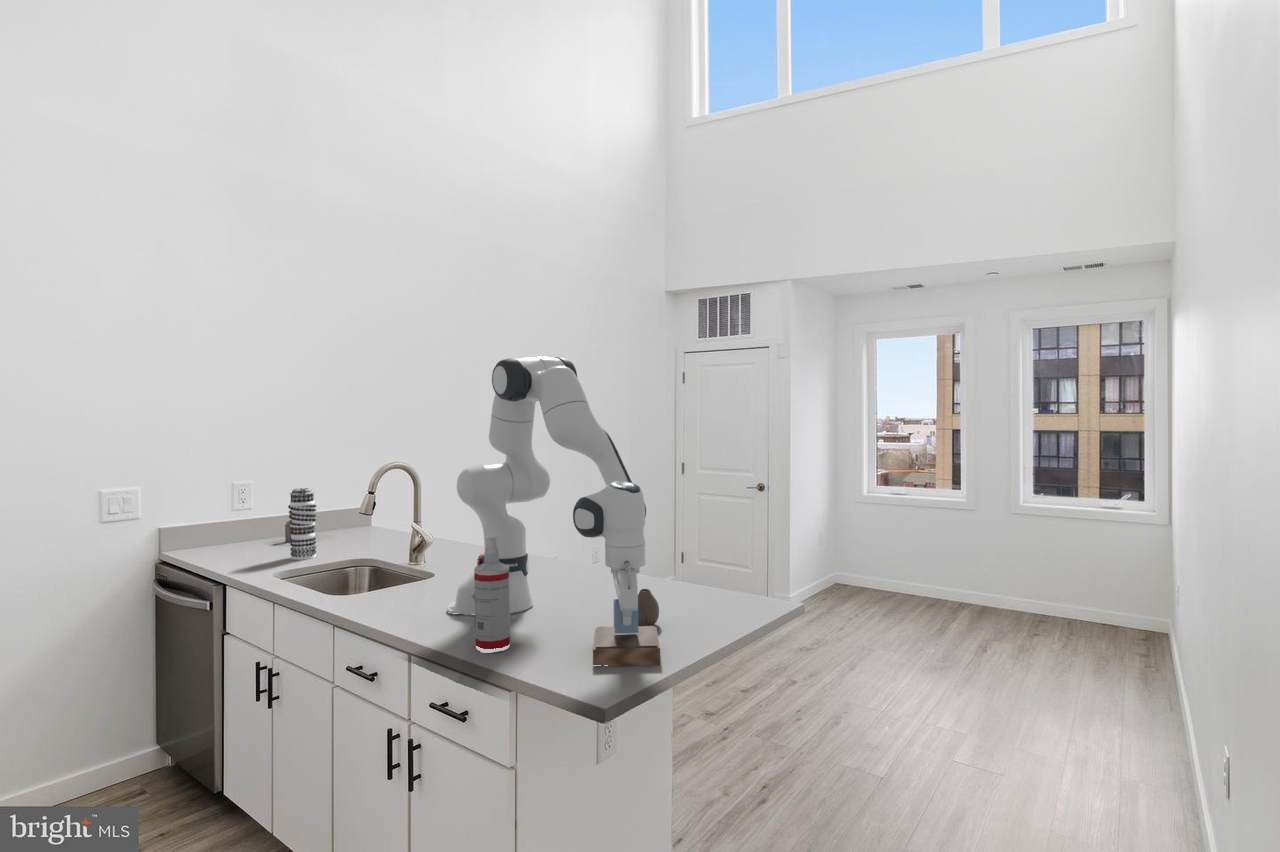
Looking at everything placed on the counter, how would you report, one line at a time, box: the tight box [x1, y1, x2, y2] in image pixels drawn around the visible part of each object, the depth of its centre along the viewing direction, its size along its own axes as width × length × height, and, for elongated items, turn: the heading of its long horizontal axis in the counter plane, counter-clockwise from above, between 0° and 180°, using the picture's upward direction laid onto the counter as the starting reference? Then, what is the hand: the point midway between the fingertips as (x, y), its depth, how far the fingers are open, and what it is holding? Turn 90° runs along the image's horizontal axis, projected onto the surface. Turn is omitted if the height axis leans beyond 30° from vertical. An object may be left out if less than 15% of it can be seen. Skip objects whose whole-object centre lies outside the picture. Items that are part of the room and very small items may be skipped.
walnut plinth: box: [592, 625, 661, 667], centre depth 153 cm, size 14×14×4 cm
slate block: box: [613, 598, 638, 634], centre depth 153 cm, size 5×5×6 cm
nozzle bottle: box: [473, 537, 511, 649], centre depth 158 cm, size 8×8×25 cm
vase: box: [638, 588, 660, 626], centre depth 174 cm, size 7×7×9 cm
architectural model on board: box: [284, 519, 316, 544], centre depth 288 cm, size 11×3×10 cm, turn 149°
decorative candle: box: [287, 487, 317, 561], centre depth 255 cm, size 9×9×25 cm
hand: (625, 619), depth 153 cm, fingers closed on slate block, 5 cm apart
